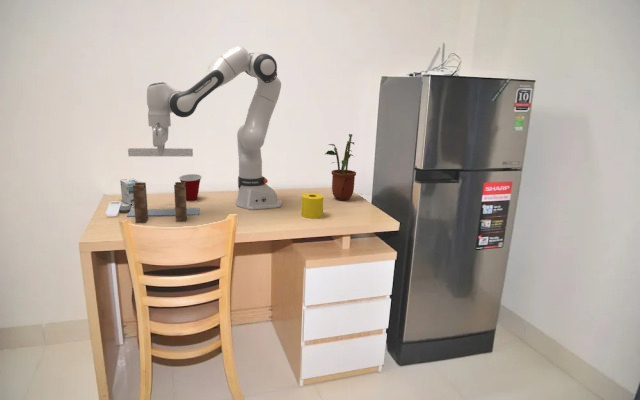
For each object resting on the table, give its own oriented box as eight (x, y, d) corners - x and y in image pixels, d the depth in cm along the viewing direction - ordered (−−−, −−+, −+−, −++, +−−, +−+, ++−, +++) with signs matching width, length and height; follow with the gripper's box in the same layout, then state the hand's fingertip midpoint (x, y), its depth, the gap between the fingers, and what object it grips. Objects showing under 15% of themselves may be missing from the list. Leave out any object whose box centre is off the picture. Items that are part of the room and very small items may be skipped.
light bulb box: (144, 203, 201) (142, 181, 198) (129, 206, 197) (127, 183, 194) (135, 198, 209) (133, 177, 206) (121, 200, 204) (119, 179, 201)
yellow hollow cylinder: (299, 217, 191) (299, 197, 189) (303, 211, 201) (303, 192, 198) (320, 219, 190) (321, 199, 187) (323, 213, 199) (324, 194, 197)
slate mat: (199, 209, 196) (199, 208, 196) (198, 215, 188) (198, 213, 188) (131, 210, 189) (131, 209, 189) (126, 217, 181) (126, 215, 181)
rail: (192, 155, 186) (192, 148, 185) (192, 156, 183) (192, 149, 182) (130, 155, 180) (129, 148, 179) (128, 156, 177) (128, 149, 176)
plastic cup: (175, 200, 208) (174, 177, 205) (188, 195, 218) (187, 173, 215) (193, 203, 205) (193, 179, 202) (206, 198, 215) (205, 175, 212)
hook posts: (186, 217, 184) (185, 182, 180) (185, 221, 179) (184, 185, 174) (138, 218, 180) (135, 182, 176) (135, 223, 174) (132, 185, 170)
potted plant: (353, 196, 232) (358, 133, 222) (355, 204, 217) (360, 136, 207) (322, 194, 232) (325, 131, 222) (321, 202, 217) (325, 134, 207)
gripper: (164, 124, 169) (166, 158, 172) (170, 119, 188) (171, 150, 191) (147, 124, 167) (150, 158, 171) (155, 119, 186) (157, 150, 190)
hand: (161, 154), depth 181 cm, fingers closed on rail, 3 cm apart
